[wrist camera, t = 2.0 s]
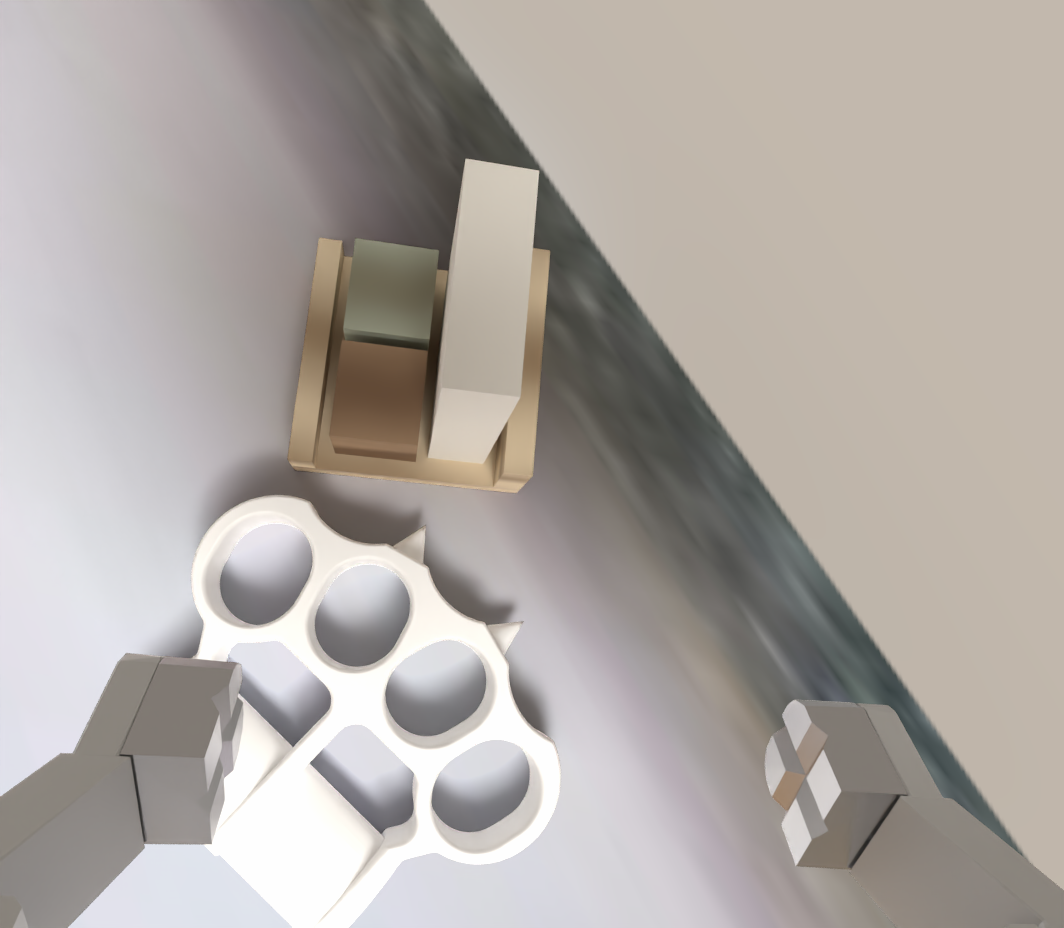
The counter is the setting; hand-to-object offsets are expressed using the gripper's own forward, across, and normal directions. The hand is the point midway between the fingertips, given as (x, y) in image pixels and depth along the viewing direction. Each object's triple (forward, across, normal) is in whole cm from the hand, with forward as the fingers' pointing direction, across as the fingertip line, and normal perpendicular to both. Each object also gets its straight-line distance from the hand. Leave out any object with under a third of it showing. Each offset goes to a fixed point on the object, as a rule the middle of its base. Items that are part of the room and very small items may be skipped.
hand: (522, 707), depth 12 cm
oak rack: (+26, +2, +8) cm, 27 cm away
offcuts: (+25, +4, +8) cm, 26 cm away
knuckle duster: (+16, +4, +19) cm, 25 cm away
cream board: (+25, 0, +8) cm, 26 cm away
